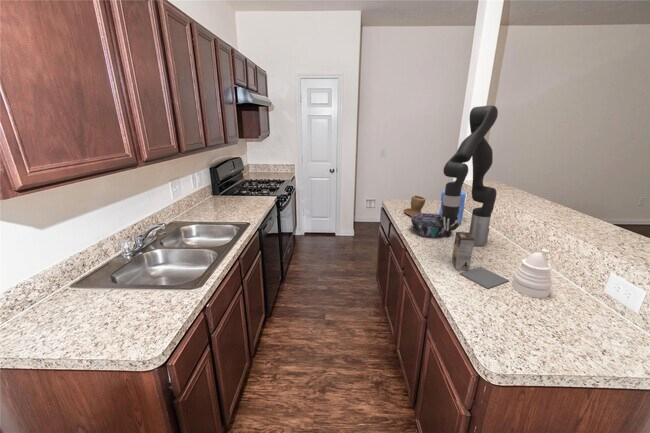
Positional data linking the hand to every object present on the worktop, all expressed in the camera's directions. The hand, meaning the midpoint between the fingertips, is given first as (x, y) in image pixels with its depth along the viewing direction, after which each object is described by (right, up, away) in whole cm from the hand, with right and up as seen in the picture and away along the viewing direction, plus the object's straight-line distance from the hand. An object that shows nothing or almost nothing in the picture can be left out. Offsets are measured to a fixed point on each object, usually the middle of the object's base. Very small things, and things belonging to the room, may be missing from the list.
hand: (446, 236), depth 142 cm
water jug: (+28, +7, +59) cm, 66 cm away
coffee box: (+4, -14, -5) cm, 15 cm away
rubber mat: (+10, -17, -16) cm, 25 cm away
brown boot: (+6, +11, +72) cm, 73 cm away
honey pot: (+24, -20, -25) cm, 40 cm away
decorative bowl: (+7, 0, +39) cm, 40 cm away
